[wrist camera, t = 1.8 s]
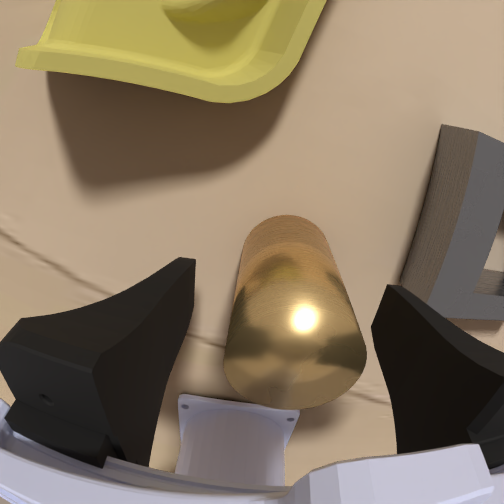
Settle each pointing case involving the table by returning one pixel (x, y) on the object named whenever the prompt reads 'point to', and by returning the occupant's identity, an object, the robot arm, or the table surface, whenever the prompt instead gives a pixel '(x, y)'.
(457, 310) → the frame
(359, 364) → the gold metal cylinder
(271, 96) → the table surface
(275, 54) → the plastic component
